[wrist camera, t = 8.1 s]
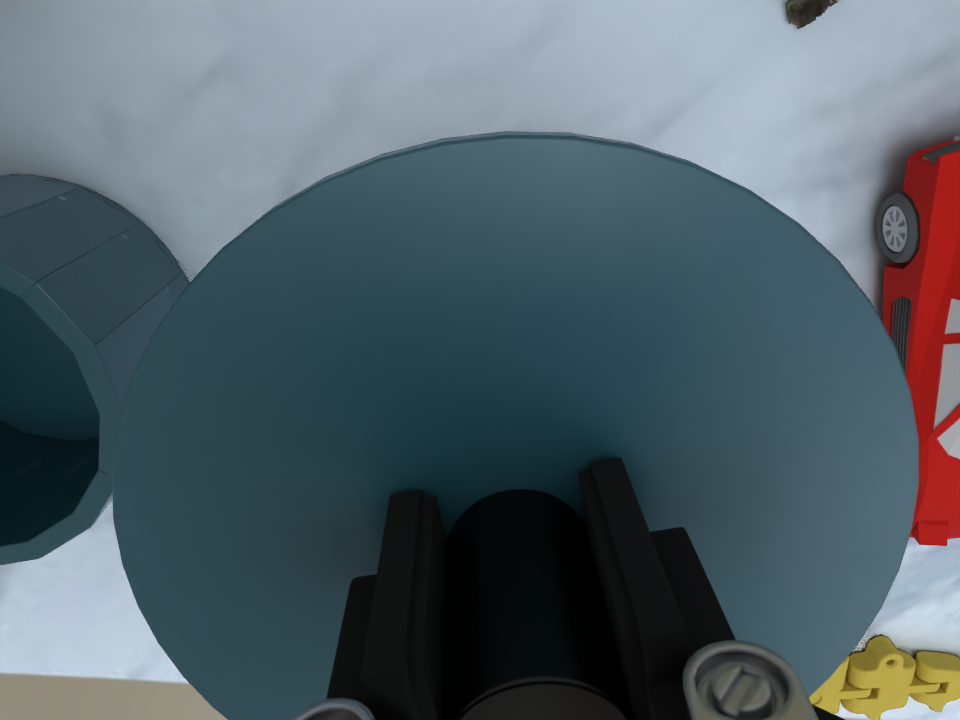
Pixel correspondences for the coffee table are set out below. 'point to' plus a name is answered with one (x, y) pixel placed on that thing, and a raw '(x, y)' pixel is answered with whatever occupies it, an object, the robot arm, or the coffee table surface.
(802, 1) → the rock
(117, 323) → the pot
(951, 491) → the toy car
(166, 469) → the lid
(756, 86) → the coffee table surface
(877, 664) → the toy
